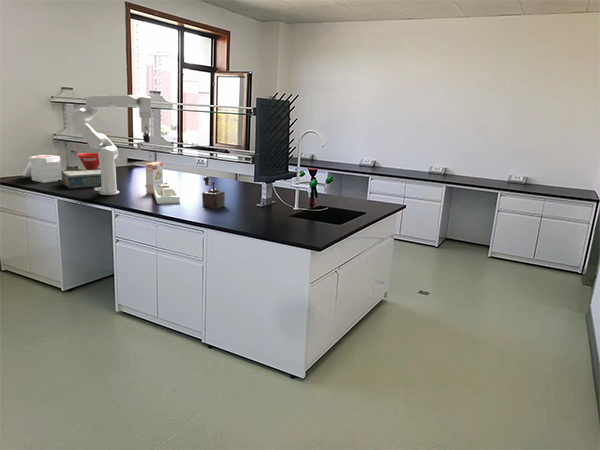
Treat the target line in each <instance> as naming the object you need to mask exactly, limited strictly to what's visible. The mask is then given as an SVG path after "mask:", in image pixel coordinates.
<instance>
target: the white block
mask: <svg viewBox="0 0 600 450" xmlns="http://www.w3.org/2000/svg"><path fill="white" fill-rule="evenodd" d="M172 188H173V187H169V188H163V189H162V197H173V189H172Z"/></svg>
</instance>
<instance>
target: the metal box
mask: <svg viewBox="0 0 600 450" xmlns="http://www.w3.org/2000/svg"><path fill="white" fill-rule="evenodd" d="M61 174H62V184H63V185H64V186H65V187H67V189H81V188H82V189H83V188H100V187H101V171H100V168H99V169H97V170H86V169H82V170H66V171H61Z"/></svg>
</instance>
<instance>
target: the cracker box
mask: <svg viewBox="0 0 600 450" xmlns="http://www.w3.org/2000/svg"><path fill="white" fill-rule="evenodd" d="M163 163H164V162H160V161H154V162H149V163H145V183H146V184H145V185H146V186H145V188H146V189H145V190H146V194H149V195H154V189H156V188H161V184H164V183H163V182H164V181H163V180H164V178H163V175H164V171H163V170H164V169H163Z"/></svg>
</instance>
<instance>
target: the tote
mask: <svg viewBox="0 0 600 450" xmlns="http://www.w3.org/2000/svg"><path fill="white" fill-rule="evenodd" d="M171 188H172V189H173V197H161V188H156V189H154V194H153V196H154V199H155V201H156V203H157V205H158V204H159V205H160V204H180V203H181V202H180V201H181V200H180V199H181V197H180V195H179V193H178V192H177V190H176V189H175V188H174V187H171Z"/></svg>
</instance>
